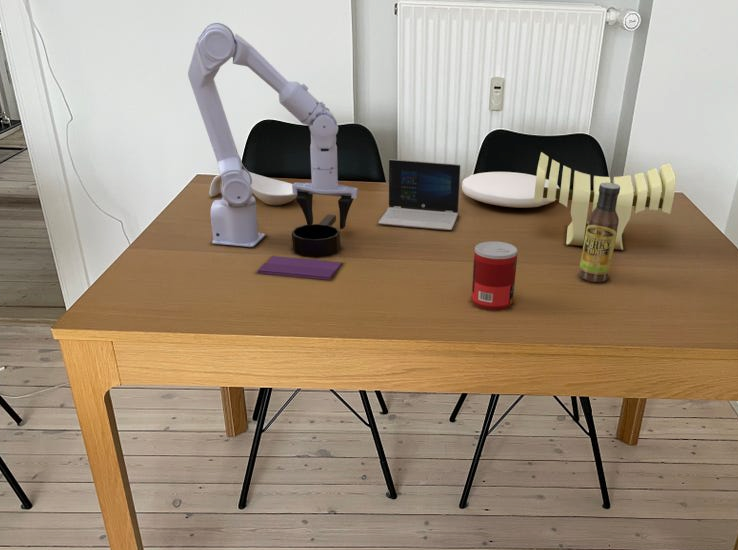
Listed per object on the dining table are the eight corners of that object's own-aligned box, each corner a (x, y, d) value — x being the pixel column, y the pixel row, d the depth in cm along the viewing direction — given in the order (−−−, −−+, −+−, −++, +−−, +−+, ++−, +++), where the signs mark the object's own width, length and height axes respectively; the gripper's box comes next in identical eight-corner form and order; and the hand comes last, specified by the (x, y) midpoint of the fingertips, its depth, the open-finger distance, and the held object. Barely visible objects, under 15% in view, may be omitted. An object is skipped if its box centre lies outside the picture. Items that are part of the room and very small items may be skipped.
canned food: (518, 308, 138) (523, 254, 133) (478, 312, 136) (482, 257, 130) (504, 292, 144) (509, 239, 139) (466, 295, 142) (469, 242, 137)
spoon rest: (307, 197, 193) (305, 170, 189) (291, 211, 183) (289, 182, 179) (222, 189, 196) (219, 163, 192) (202, 202, 186) (198, 174, 182)
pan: (332, 259, 156) (331, 241, 154) (287, 255, 157) (286, 237, 155) (353, 232, 171) (352, 216, 169) (311, 228, 172) (310, 212, 170)
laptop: (377, 225, 176) (377, 171, 169) (388, 209, 187) (388, 158, 180) (451, 232, 174) (454, 178, 168) (458, 215, 185) (460, 164, 179)
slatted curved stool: (529, 245, 168) (537, 168, 160) (533, 223, 182) (541, 151, 173) (661, 258, 165) (677, 180, 156) (655, 235, 178) (669, 162, 170)
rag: (257, 273, 147) (257, 270, 147) (273, 257, 155) (272, 254, 155) (329, 280, 146) (329, 277, 146) (341, 263, 154) (341, 261, 153)
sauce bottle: (575, 280, 151) (588, 185, 142) (582, 270, 156) (595, 178, 147) (605, 286, 149) (621, 190, 139) (612, 276, 154) (627, 183, 145)
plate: (471, 164, 211) (563, 174, 207) (470, 187, 214) (560, 197, 210) (453, 179, 186) (558, 190, 182) (452, 205, 188) (555, 216, 184)
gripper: (360, 164, 162) (361, 223, 169) (298, 159, 164) (301, 217, 170) (353, 172, 156) (354, 233, 163) (287, 167, 158) (291, 227, 164)
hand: (326, 226), depth 166 cm, fingers open, 7 cm apart
